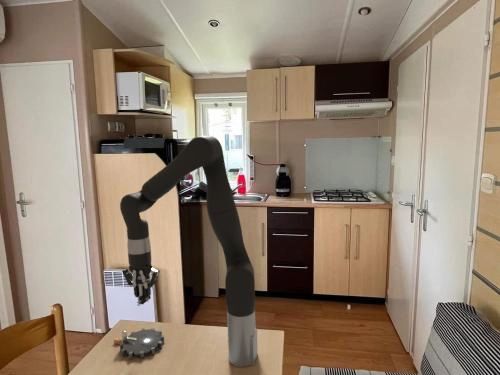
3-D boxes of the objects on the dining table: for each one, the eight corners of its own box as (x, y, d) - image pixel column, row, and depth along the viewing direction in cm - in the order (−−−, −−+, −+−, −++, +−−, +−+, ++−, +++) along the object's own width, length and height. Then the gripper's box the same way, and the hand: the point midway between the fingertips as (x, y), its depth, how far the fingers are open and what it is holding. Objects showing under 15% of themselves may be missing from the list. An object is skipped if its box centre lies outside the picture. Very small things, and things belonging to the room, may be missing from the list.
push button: (144, 307, 107) (142, 279, 105) (131, 306, 108) (128, 278, 106) (154, 298, 113) (152, 272, 112) (141, 297, 114) (139, 271, 113)
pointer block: (124, 341, 115) (123, 337, 115) (120, 344, 113) (120, 341, 113) (117, 340, 116) (116, 336, 116) (113, 343, 114) (113, 340, 114)
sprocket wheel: (171, 335, 118) (170, 320, 117) (150, 361, 103) (149, 345, 103) (136, 330, 121) (134, 316, 120) (111, 356, 107) (109, 340, 106)
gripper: (114, 252, 106) (118, 300, 108) (152, 254, 103) (155, 303, 105) (127, 245, 113) (131, 290, 115) (163, 247, 110) (166, 293, 112)
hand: (142, 296), depth 110 cm, fingers closed on push button, 3 cm apart
